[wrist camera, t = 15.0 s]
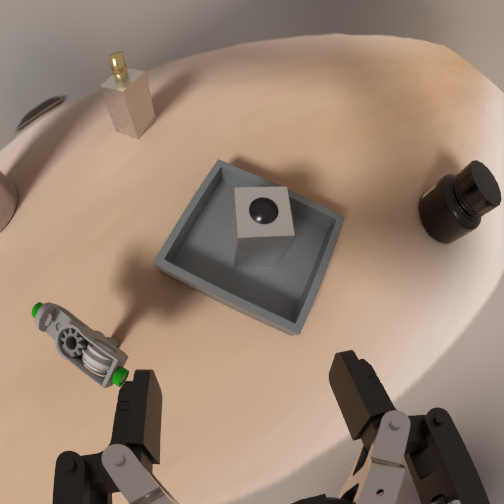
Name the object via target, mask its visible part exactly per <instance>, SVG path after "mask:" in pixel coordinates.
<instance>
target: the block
mask: <svg viewBox="0 0 504 504" xmlns="http://www.w3.org/2000/svg"><path fill="white" fill-rule="evenodd" d="M293 237H294V228H293V222H292V215H291V209H290V202H289V196H288V190H287V187H238V188H234V197H233V209H232V221H231V242H232V257H233V269H248V268H264V267H274V266H275V265H276V263H277V262H278V260H279V259H280V257H281V256H282V254H283V253H284V251H285V249H286V248H287V246H288V245H289V243H290V242H291V240H292V239H293Z"/></svg>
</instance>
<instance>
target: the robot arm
mask: <svg viewBox="0 0 504 504" xmlns="http://www.w3.org/2000/svg"><path fill="white" fill-rule="evenodd" d="M17 200H18V191H17V188H16V186H15V185H14V184H13V183H12V182H11V181H10V180H9V179H8V178H7V177H6V176H5V175H4V174H3V173H2V172H1V171H0V231H1V230H3V229H4V228H5V226H6V225H7V224H8V222H9V221H10V219H11V217H12V215H13V214H14V211H15V208H16V205H17ZM376 375H377V374H376V373H375V371H374V369H373V367H372V366H371V365H370V364H369V363H368V362H367V361H365V360H364V359H360V360H358V358H357V356H356V354H355V353H354V351H353V350H349V351H344V352H339V353H336V354H335V357H334V360H333V363H332V366H331V369H330V372H329V382H330V385H331V388H332V390H333V393H334V395H335V397H336V400H337V402H338V405H339V407H340V410H341V412H342V414H343V417H344V419H345V422H346V424H347V427H348V429H349V432H350V434H351V437H352V439H353V440H357V439H360V438H361V440H362V442H363V444H362V445H361V448H360V451H359V454H358V456H357V459H356V462H355V464H354V467H353V469H352V472H351V474H350V476H349V478H348V480H347V482H346V483H345V485H344V486H343V488H342V490H341V492H340V494H339V496H338V498H333V497H326V495H325V494H322V495H319V496H315V497H310V498H307V499H302V500H299V501H297V502H295V503H292V504H395V502H396V499H397V496H398V493H399V490H400V486H401V483H402V480H403V476H404V472H405V467H404V466H402V460H403V457H405V460H406V463H407V465H408V468H409V470H410V473H411V476H412V479H413V481H414V484H415V487H416V489H417V492H418V495H419V498H420V501H421V504H490V503H489V500H488V498H487V495H486V492H485V490H484V487H483V485H482V482H481V480H480V477H479V475H478V473H477V470H476V468H475V466H474V464H473V462H472V459H471V457H470V455H469V453H468V451H467V449H466V447H465V445H464V442H463V440H462V438H461V436H460V434H459V432H458V430H457V428H456V427H455V425H454V423H453V421H452V419H451V417H450V415H449V413H447V411H446V410H444V409H442V408H433V409H431V410H430V411H429V412H428V413H427V414H426V415H416V416H407V415H406V414H405V413H403V412H401V411H397V410H396V409H395V407H394V405H393V404H392V402H391V400H390V398H389V396H388V394H387V393H386V391H385V389H384V387H383V385H382V383H380V380H379V378H378V376H376ZM161 412H162V393H161V389H160V386H159V384H158V381H157V378H156V376H155V373H154V371H153V370H138V369H137V370H135V373H134V379H133V381H125V383H124V384H123V386H122V387H121V389H120V390H119V395H118V403H117V407H116V412H115V418H114V425H113V432H112V439H111V442H110V444H109V446H108V447H107V448H106V449H105V450H104V451H102V452H100V453H97V454H91V455H84V456H80V455H79V454H77V453H76V452H73V451H65V452H63V453H61V454H60V455H59V456H58V458H57V460H56V467H55V477H54V489H53V504H112V493H115V492H122V494H123V495H124V497H125V498H126V499H127V501H128V502H129V504H180V503H179V502H178V501H177V500H176V499H175V498H174V497H173V496H172V495H171V494H170V493H169V492H168V491H167V490H166V488H165V487H164V486H163V485H162V484H161V483H160V481H159V480H158V479H157V478H156V477H155V475H154V474H153V473H152V466H153V464H160V433H161Z"/></svg>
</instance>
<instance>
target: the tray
mask: <svg viewBox="0 0 504 504" xmlns="http://www.w3.org/2000/svg"><path fill="white" fill-rule="evenodd" d="M238 187H281V186H279V185H277V184H274V183H272V182H270V181H268V180H266V179H263V178H261V177H259V176H256V175H254V174H252V173H250V172H247V171H245V170H243V169H240V168H238V167H236V166H233V165H231V164H228V163H226V162H224V161H221V160H219V159H218V160H217V162H216V163H215V165H214V166H213V168H212V169H211V171H210V172H209V174H208V175H207V177H206V178H205V180H204V181H203V183H202V184H201V186H200V187H199V189H198V190H197V192H196V193H195V195H194V196H193V198H192V200H191V201H190V203H189V204H188V206H187V207H186V209H185V211H184V212H183V214H182V216H181V217H180V219H179V220H178V222H177V224H176V225H175V227H174V229H173V230H172V232H171V234H170V235H169V237H168V239H167V240H166V242H165V244H164V245H163V247H162V249H161V251H160V252H159V254H158V256H157V258H156V259H155V261H154V264H155V265H156V267H157V268H158V269H159V270H160V271H161V272H162V273H164V274H166V275H168V276H170V277H172V278H174V279H176V280H177V281H179V282H181V283H183V284H185V285H187V286H189V287H191V288H193V289H195V290H197V291H199V292H201V293H203V294H205V295H207V296H209V297H211V298H213V299H215V300H217V301H219V302H221V303H223V304H225V305H227V306H229V307H231V308H233V309H235V310H237V311H239V312H241V313H243V314H246V315H248V316H250V317H252V318H254V319H256V320H258V321H260V322H263V323H265V324H267V325H269V326H271V327H274V328H276V329H278V330H280V331H282V332H285V333H287V334H289V335H299V334H300V333H301V330H302V328H303V326H304V323H305V321H306V319H307V316H308V314H309V311H310V309H311V307H312V304H313V302H314V299H315V297H316V294H317V292H318V289H319V286H320V284H321V281H322V279H323V276H324V274H325V271H326V268H327V266H328V263H329V260H330V257H331V255H332V252H333V249H334V246H335V244H336V241H337V238H338V235H339V232H340V229H341V226H342V223H343V220H344V217H343V216H341V215H339V214H337V213H335V212H333V211H331V210H329V209H327V208H325V207H323V206H321V205H319V204H317V203H315V202H313V201H311V200H309V199H306V198H304V197H302V196H300V195H298V194H296V193H294V192H292V191H290V190H288V196H289V202H290V209H291V215H292V222H293V228H294V237H293V239H292V240H291V242H290V243H289V245H288V246H287V248H286V249H285V251H284V253H283V254H282V256H281V257H280V259H279V260H278V262H277V263H276V265H275V266H274V267H264V268H248V269H233V257H232V242H231V221H232V209H233V197H234V188H238Z"/></svg>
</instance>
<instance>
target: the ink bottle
mask: <svg viewBox="0 0 504 504" xmlns="http://www.w3.org/2000/svg"><path fill="white" fill-rule="evenodd" d="M500 202H501V192H500V189H499V186H498V183H497V182H496V180H495V178H494V176H493V175H492V173H491V172H490V171H489V169H488V168H487V167H486V166H485V165H484V164H483V163H481V162H479V161H477V160H476V161H472V162H471V163H470V164H468V165H467V166H466V167H465V168H464V169H463V170H462V171H461V172H460V173H458V174H457V175H454V174H448V175H445V176H444V177H443V178H441V179H440V180H439V181H438V182H437V183H436V184H435V185H433V186H432V187H431V188H430V189H429V190H428V191H427V192H425V193H424V194H423V195H422V197H421V199H420V202H419V213H420V217H421V221H422V223H423V225H424V227H425V229H426V231H427V232H428V233H429V234H430V236H431V237H433V238H434V239H435V240H437V241H438V242H441V243H444V244H449V243H452V242H454V241H456V240H457V239H459V238H461V237H463V236H464V235H466V234H468V233H470V232H471V231H473V230H475V229H476V228H477V227H478V226H479V224H480V221H481V216H483V215H484V214H486V213H488V212H489V211H491V210H492V209H494V208H496V207H497V206H499V205H500Z"/></svg>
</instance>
